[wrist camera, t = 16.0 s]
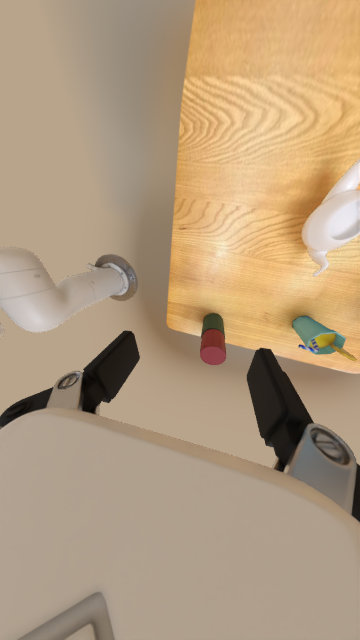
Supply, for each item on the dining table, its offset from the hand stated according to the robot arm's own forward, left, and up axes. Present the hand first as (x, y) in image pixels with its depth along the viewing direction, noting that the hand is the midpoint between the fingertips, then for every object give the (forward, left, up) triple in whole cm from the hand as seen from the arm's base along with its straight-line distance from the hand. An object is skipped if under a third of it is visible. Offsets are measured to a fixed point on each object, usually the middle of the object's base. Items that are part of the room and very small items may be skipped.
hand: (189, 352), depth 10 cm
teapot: (+16, +21, -36) cm, 45 cm away
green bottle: (+12, -14, -36) cm, 41 cm away
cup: (+34, +2, -36) cm, 50 cm away
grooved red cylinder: (+12, -14, -26) cm, 32 cm away
